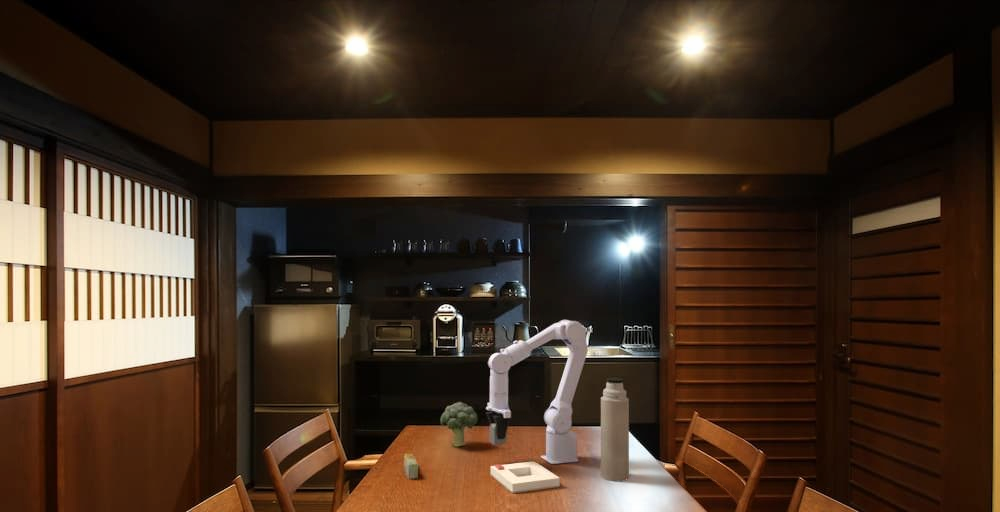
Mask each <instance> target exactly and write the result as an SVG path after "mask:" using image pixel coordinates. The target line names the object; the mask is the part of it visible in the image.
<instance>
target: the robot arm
mask: <svg viewBox="0 0 1000 512" xmlns="http://www.w3.org/2000/svg"><path fill="white" fill-rule="evenodd" d="M586 334H587V331H586V329H585V328H584V326H583V324H582V323H580V322H579V321H578V320H577V321H576V320H569V319H562V320H559V321H558V322H555V323H553V324H551V325H549V326H548V327H546V328H545V329H543V330H542V331H540V332H538V333H537V334H536V335H534V336H532V337H530V338H529V339H527V340H526V341H524V340H521V339H519V340H514V341H513V342H512V344H511V345H509V346H507V347H505V348H500V350H499V352H495V353H493V354H491V355H490V357H489V358H488V361H487V365H488V368H489V369H490V372H489V373H490V376H489V402H487V404H486V405H487V406H486V407H485V410H487V411H485V414H486V417H487V419H488V421H489V426H490V425H491V424H494V423H495V424H496V429H497V437H498V439H505V436H506V437H507V431H508V427H509V425H510V423H511V421H512V418H513V417H512V411H511V410H510V407H509V370H510V369H511V367H513V366H515V365H517V364H518V363H520V362H521V361H523V360H525V359H527V358H528V357H530V355H531V352H532V351H533V350H535V349H536V348H539V347H541V346H542V345H544V344H546V343H549V341H552V340H562V341H563V342H564V343H565V345H566V346H567V348H568V350H569V353H568V357H567V361H566V363H565V366H564V370H563V373H562V377H561V380H560V382H559V385H558V389H557V392H556V395H555V398H554V399H553V400H552V401H551V402H550V404H549V407H548V408H547V409H546V410H545V412H544V415H543V420H544V422H545V424H546V425H547V426H546V429H545V431H546V433H545V455H544V454H543V455H541V456H540V458H541V459H543V460H544V461H546V462H547V463H549V464H551V465H558V464H565V463H566V464H567V463H574V462H579V459H578V438H577V437H578V436H577V434H576V431H574V430H571V427H572V425H573V424H572V414H573V407H572V402H573V399H574V396H575V392H576V390H577V386H578V383H579V380H580V376H581V374H582V370H583V368H584V365H585V364H584V363H585V361H586V358H587V354H588V350H589V349H588V344H587V343H588V342H587V339H586Z"/></svg>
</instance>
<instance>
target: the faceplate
mask: <svg viewBox="0 0 1000 512" xmlns="http://www.w3.org/2000/svg"><path fill="white" fill-rule="evenodd" d="M489 474H490V476H491V477H493V478H494V479H495V481H498V482H499V483H500V484H501V485H502V486H503V487H504V488H506V489H507V490H508V491H510V493H512V494H517V493H525V492H532V491H539V490H546V489H553V488H560V485H561V484H560V483H561V482H560V477H559V476H557V475H556V474H555V473H553V472H551V471H550V470H548V469H547V468H546V467H544V466H542V465H540V464H539V463H538V462H536V461H535V460H533V461H525V462H517V463H516V462H515V463H507V464H500V463H499V464H498V463H497V464H494V465H490V473H489Z"/></svg>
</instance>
